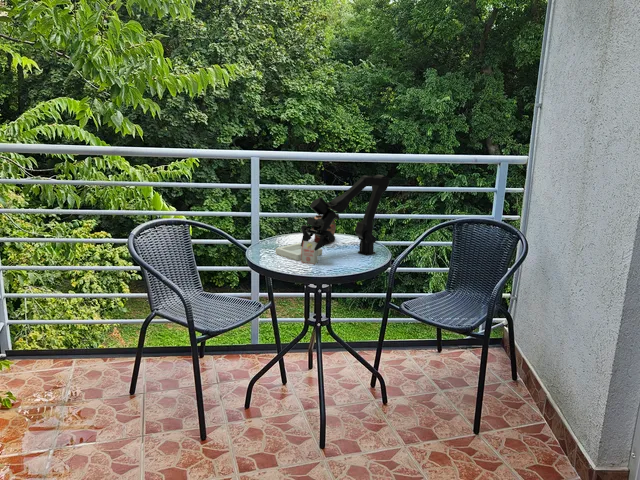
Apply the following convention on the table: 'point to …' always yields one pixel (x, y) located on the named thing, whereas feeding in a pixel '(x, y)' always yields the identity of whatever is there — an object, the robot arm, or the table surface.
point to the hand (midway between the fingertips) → (308, 248)
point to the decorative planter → (333, 228)
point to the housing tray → (292, 251)
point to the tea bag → (309, 253)
